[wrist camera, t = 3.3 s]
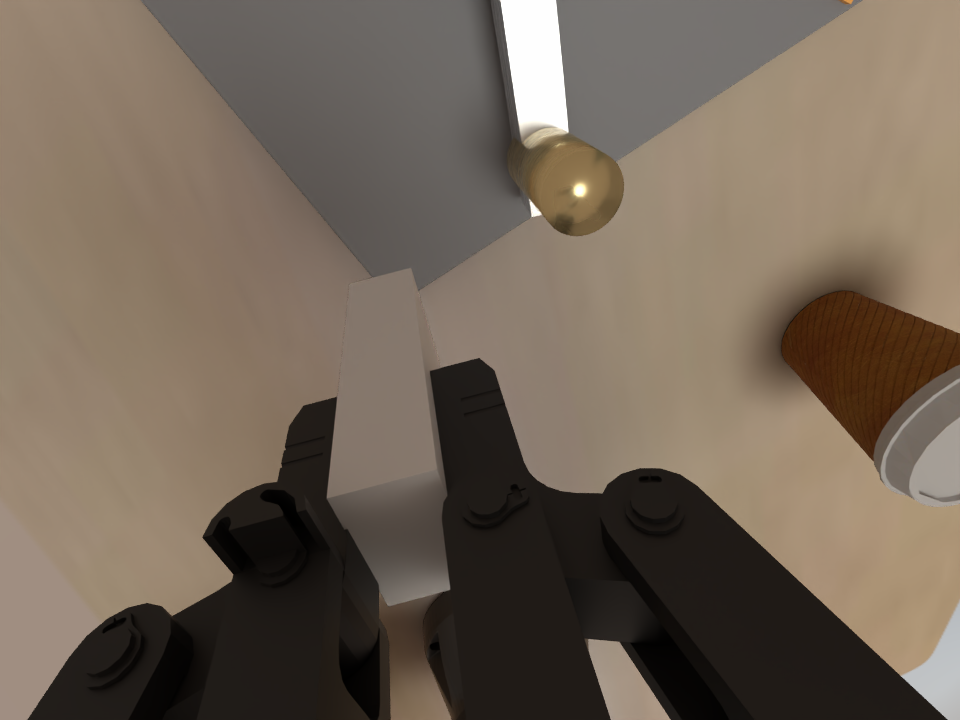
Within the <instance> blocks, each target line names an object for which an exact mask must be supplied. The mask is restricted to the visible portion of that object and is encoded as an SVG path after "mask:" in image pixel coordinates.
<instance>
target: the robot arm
mask: <svg viewBox="0 0 960 720" xmlns="http://www.w3.org/2000/svg"><path fill="white" fill-rule="evenodd" d="M285 448H286V450H285V451H284V453H283V458H282V463H281V464H282V468H280V472H279V477H278V481H277V482H274V483H266V484H262V485H259V486H257V487H254V488H252V489H250V490H247V491H245V492H243V493H242V494H240V495H239V496H237V497H236V498H234V499H233V500H232V501H230V502H229V503H227V504H226V505H225V506H224V507H223V508H222V509H221V510H220V511H219V513H218V514H217V515H216V516H215V517H214V518H213V519H212V520H211V522H210V524H209V526H208V528H207V529H206V531H205V533H204V535H203V537H202V538H203V539H204V540H205V541H206V542H207V544H208V545H209V546H210V547H211V548H212V550H213V551H214V552H215V553H216V554H217V555H218V557H219V558H220V559H221V560H222V561H223V563H224V564H225V565H226V566H227V567H228V569H229V570H230V571H231V572H232V573H233V574H234V575H233V579H232V582H230V583H229V584H227V585H226V586H224V587H223V588H221V589H220V590H218V591H217V592H215V593H213V594H211V595H209V596H208V597H206V598H204V599H202V600H200V601H199V602H197V603H195V604H193V605H191V606H190V607H188V608H186V609H184V610H182V611H181V612H179V613H177V614H175V615H173V616H171V615H170V614H169V613H168V612H167V611H166V610H165V609H164V608H163V607H162V606H158V605H153V604H149V603H146V604H141V605H137V606H133V607H129V608H126V609H125V610H123V611H121V612H119V613H117V614H115V615H114V616H112V617H110V618H108V619H107V620H105V621H104V622H103V623H102V624H101V625H99V626H98V627H97V628H96V629H95V630H93V631H92V632H91V633H90V634H89V635H87V636H86V638H85V639H84V640H83V641H82V642H81V644H80V645H79V646H78V648H77V649H76V650H75V651H74V652H73V653H72V655H71V656H70V657H69V658H68V660H67V661H66V663H65V665H64V666H63V668H62V669H61V670H60V672H59V673H58V675H57V676H56V678H55V679H54V681H53V683H52V684H51V685H50V687H49V688H48V690H47V691H46V693H45V694H44V696H43V697H42V699H41V700H40V702H39V703H38V705H37V707H36V708H35V710H34V711H33V712H32V714H31V715H30V717H29V718H28V720H391V717H390V667H389V641H388V637H387V632H386V629H385V627H384V625H383V624H382V622H381V621H380V619H379V591H380V593H381V595H382V596H383V598H384V600H385V602H386V603H387V605H388V607H389V606H393V605H396V604H400V603H404V602H408V601H411V600H415V599H419V598H422V597H426V596H430V595H433V594H437V593H441V592H444V591H446V592H445V593H443V594H442V595H441V596H440V597H439V598H438V599H437V600H436V601H435V602H434V603H433V604H432V605H431V607H430V608H429V610H428V611H427V613H426V616H425V618H424V622H423V634H424V647H425V653H426V658H427V660H428V663H429V665H430V668H431V670H432V672H433V675H434V677H435V680H436V682H437V685H438V687H439V689H440V692H441V694H442V697H443V699H444V702H445V704H446V706H447V709H448V711H449V714H450V716H451V719H452V720H611V719H610V716H609V713H608V710H607V707H606V704H605V700H604V697H603V694H602V691H601V688H600V685H599V682H598V679H597V676H596V673H595V670H594V667H593V664H592V661H591V658H590V654H589V651H588V639H596V640H607V641H618V642H620V643H621V645H622V646H623V648H624V649H625V651H626V652H627V654H628V655H629V657H630V658H631V660H632V661H633V663H634V664H635V666H636V668H637V669H638V671H639V672H640V674H641V675H642V677H643V678H644V680H645V681H646V683H647V684H648V686H649V687H650V689H651V690H652V692H653V693H654V695H655V696H656V698H657V699H658V701H659V702H660V704H661V705H662V707H663V709H664V710H665V712H666V713H667V715H668V716H669V718H670V719H671V720H947V719H946V718H945V717H944V716H943V715H942V714H941V713H940V712H939V711H938V710H936V709H935V708H934V707H933V706H932V705H931V704H930V703H929V702H928V701H927V700H926V699H924V697H923V696H922V695H920V694H919V693H918V692H917V691H916V690H915V689H914V688H913V687H912V686H911V685H910V684H909V683H908V682H906V681H905V680H904V679H903V678H902V677H901V676H900V675H899V674H898V673H897V672H896V671H895V670H894V669H893V668H892V667H890V666H889V665H888V664H887V663H886V662H885V661H884V660H883V659H882V658H881V657H880V656H879V655H878V654H877V653H875V652H874V651H873V650H872V649H871V648H870V647H869V646H868V645H867V644H866V643H865V642H864V641H863V640H862V639H861V638H859V637H858V636H857V635H856V634H855V633H854V632H853V631H852V630H851V629H850V628H849V627H848V626H847V625H846V624H844V623H843V622H842V621H841V620H840V619H839V618H838V617H837V616H836V615H835V614H834V613H833V612H832V611H831V610H829V609H828V608H827V607H826V606H825V605H824V604H823V603H822V602H821V601H820V600H819V599H818V598H817V597H816V596H814V595H813V594H812V593H811V592H810V591H809V590H808V589H807V588H806V587H805V586H804V585H803V584H802V583H801V582H799V581H798V580H797V579H796V578H795V577H794V576H793V575H792V574H791V573H790V572H789V571H788V570H787V569H786V568H785V567H783V566H782V565H781V564H780V563H779V562H778V561H777V560H776V559H775V558H774V557H773V556H772V555H771V554H770V553H768V552H767V551H766V550H765V549H764V548H763V547H762V546H761V545H760V544H759V543H758V542H757V541H756V540H755V539H753V538H752V537H751V536H750V535H749V534H748V533H747V532H746V531H745V530H744V529H743V528H742V527H741V526H740V525H738V524H737V523H736V522H735V521H734V520H733V519H732V518H731V517H730V516H729V515H728V514H727V513H726V512H725V511H723V510H722V509H721V508H720V507H719V506H718V505H717V504H716V503H715V502H714V501H713V500H712V499H711V498H710V497H709V496H707V495H706V494H705V493H704V492H703V491H702V490H701V489H700V488H699V487H698V486H697V485H695V484H694V483H692V482H691V481H689V480H688V479H686V478H685V477H683V476H682V475H680V474H677V473H673V472H670V471H667V470H663V469H656V468H639V469H636V470H633V471H629V472H626V473H623V474H621V475H619V476H618V477H617V478H615V479H614V480H613V481H612V482H610V483H609V484H608V485H607V487H606V488H605V490H604V492H603V494H599V493H571V492H562V491H559V490H556V489H553V488H550V487H547V486H546V485H544V484H542V483H541V482H539V481H537V480H536V479H535V478H534V477H533V476H532V475H531V474H530V473H529V471H528V469H527V467H526V465H525V463H524V461H523V458H522V455H521V451H520V448H519V445H518V442H517V439H516V436H515V433H514V430H513V427H512V424H511V421H510V418H509V414H508V411H507V408H506V406H505V402H504V399H503V396H502V393H501V390H500V387H499V384H498V380H497V377H496V374H495V371H494V370H493V369H492V368H491V367H489V366H488V365H487V364H486V363H485V362H483V361H482V360H481V359H480V358H477V359H474V360H470V361H466V362H462V363H458V364H454V365H451V366H447V367H443V368H440V363H439V358H438V355H437V352H436V348H435V345H434V342H433V338H432V335H431V332H430V329H429V325H428V322H427V319H426V315H425V312H424V309H423V305H422V302H421V299H420V296H419V292H418V289H417V286H416V282H415V279H414V276H413V273H412V269H411V268H408V269H404V270H400V271H396V272H393V273H389V274H385V275H381V276H377V277H373V278H369V279H365V280H361V281H358V282H354V283H350V284H349V291H348V301H347V310H346V320H345V329H344V339H343V348H342V358H341V367H340V377H339V386H338V396H337V397H335V398H331V399H328V400H324V401H320V402H316V403H312V404H308V405H305V406H303V407H302V409H301V410H300V412H299V413H298V414H297V416H296V417H295V419H294V420H293V422H292V423H291V424H290V426H289V430H288V434H287V439H286V444H285Z"/></svg>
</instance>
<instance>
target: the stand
mask: <svg viewBox="0 0 960 720" xmlns="http://www.w3.org/2000/svg"><path fill="white" fill-rule="evenodd" d="M141 1H142V2H143V3H144V5H145V6H146V7H147V8H148V9H149V11H150V12H151V13H152V14H153V15H154V17H155V18H156V19H157V20H158V21H159V23H160V24H161V25H162V26H163V27H164V29H165V30H166V31H167V32H168V33H169V35H170V36H171V37H172V38H173V39H174V40H175V42H176V43H177V44H178V45H179V46H180V48H181V49H182V50H183V51H184V52H185V54H186V55H187V56H188V57H189V58H190V60H191V61H192V62H193V63H194V64H195V66H196V67H197V68H198V69H199V70H200V72H201V73H202V74H203V75H204V76H205V78H206V79H207V80H208V81H209V82H210V84H211V85H212V86H213V87H214V88H215V90H216V91H217V92H218V93H219V94H220V96H221V97H222V98H223V99H224V100H225V101H226V103H227V104H228V105H229V106H230V107H231V109H232V110H233V111H234V112H235V113H236V115H237V116H238V117H239V118H240V119H241V121H242V122H243V123H244V124H245V125H246V127H247V128H248V129H249V130H250V131H251V133H252V134H253V135H254V136H255V137H256V139H257V140H258V141H259V142H260V143H261V145H262V146H263V147H264V148H265V149H266V151H267V152H268V153H269V154H270V155H271V156H272V158H273V159H274V160H275V161H276V162H277V164H278V165H279V166H280V167H281V168H282V170H283V171H284V172H285V173H286V174H287V176H288V177H289V178H290V179H291V180H292V182H293V183H294V184H295V185H296V186H297V188H298V189H299V190H300V191H301V192H302V194H303V195H304V196H305V197H306V198H307V200H308V201H309V202H310V203H311V204H312V206H313V207H314V208H315V209H316V210H317V211H318V213H319V214H320V215H321V216H322V217H323V219H324V220H325V221H326V222H327V223H328V225H329V226H330V227H331V228H332V229H333V231H334V232H335V233H336V234H337V235H338V237H339V238H340V239H341V240H342V241H343V243H344V244H345V245H346V246H347V247H348V249H349V250H350V251H351V252H352V253H353V255H354V256H355V257H356V258H357V259H358V261H359V262H360V263H361V264H362V265H363V266H364V268H365V269H366V270H367V271H368V272H369V274H370V275H371V276H372V277H377V276H381V275H385V274H389V273H393V272H396V271H400V270H404V269H408V268H411V269H412V273H413V276H414V279H415V282H416V286H417V289H418V291H419V290H420V289H422V288H423V287H425V286H427V285H428V284H430V283H431V282H433V281H434V280H436V279H437V278H439V277H440V276H442V275H443V274H445V273H446V272H448V271H449V270H451V269H453V268H454V267H456V266H457V265H459V264H460V263H462V262H463V261H465V260H466V259H468V258H469V257H471V256H472V255H474V254H475V253H477V252H478V251H480V250H482V249H483V248H485V247H486V246H488V245H489V244H491V243H492V242H494V241H495V240H497V239H498V238H500V237H501V236H503V235H504V234H506V233H508V232H509V231H511V230H512V229H514V228H515V227H517V226H518V225H520V224H521V223H523V222H524V221H526V220H527V219H529V218H530V217H531V214H530V213H529V211H528V210H527V209H526V207H525V206H524V205H523V204H522V199H521V193H520V188H519V187H518V185H517V184H516V183H515V182H514V180H513V179H512V178H511V176H510V174H509V171H508V167H507V152H508V148H509V146H510V143H511V141H512V135H511V129H510V122H509V116H508V109H507V103H506V97H505V90H504V84H503V77H502V71H501V65H500V58H499V52H498V45H497V39H496V32H495V26H494V20H493V13H492V7H491V0H141ZM861 1H862V0H556V7H557V18H558V28H559V38H560V49H561V59H562V70H563V80H564V90H565V101H566V111H567V122H568V132H569V133H571V134H573V135H574V136H576V137H578V138H580V139H581V140H583V141H585V142H586V143H588V144H590V145H591V146H593V147H595V148H597V149H598V150H600V151H602V152H603V153H605V154H607V155H608V156H610V157H611V158H612V159H613V160H614V161H615V162H616V161H618V160H619V159H621V158H622V157H624V156H625V155H627V154H628V153H630V152H631V151H633V150H634V149H636V148H638V147H639V146H641V145H642V144H644V143H645V142H647V141H648V140H650V139H651V138H653V137H654V136H656V135H657V134H659V133H660V132H662V131H663V130H665V129H667V128H668V127H670V126H671V125H673V124H674V123H676V122H677V121H679V120H680V119H682V118H683V117H685V116H686V115H688V114H689V113H691V112H693V111H694V110H696V109H697V108H699V107H700V106H702V105H703V104H705V103H706V102H708V101H709V100H711V99H712V98H714V97H715V96H717V95H719V94H720V93H722V92H723V91H725V90H726V89H728V88H729V87H731V86H732V85H734V84H735V83H737V82H738V81H740V80H741V79H743V78H745V77H746V76H748V75H749V74H751V73H752V72H754V71H755V70H757V69H758V68H760V67H761V66H763V65H764V64H766V63H767V62H769V61H771V60H772V59H774V58H775V57H777V56H778V55H780V54H781V53H783V52H784V51H786V50H787V49H789V48H790V47H792V46H793V45H795V44H797V43H798V42H800V41H801V40H803V39H804V38H806V37H807V36H809V35H810V34H812V33H813V32H815V31H816V30H818V29H819V28H821V27H823V26H824V25H826V24H827V23H829V22H830V21H832V20H833V19H835V18H836V17H838V16H839V15H841V14H842V13H844V12H845V11H847V10H849V9H850V8H852V7H853V6H855V5H856V4H858V3H859V2H861Z"/></svg>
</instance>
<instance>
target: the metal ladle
mask: <svg viewBox="0 0 960 720" xmlns="http://www.w3.org/2000/svg"><path fill="white" fill-rule="evenodd" d="M491 7H492V13H493V20H494V26H495V32H496V39H497V45H498V52H499V58H500V65H501V71H502V77H503V84H504V90H505V97H506V103H507V109H508V116H509V122H510V129H511V135H512V141H511V143H510V146H509V148H508V152H507V167H508V171H509V174H510V176H511V178H512V179H513V180H514V182H515V183H516V184H517V185H518V187H519V188H520V193H521V199H522V204H523V205H524V206H525V207H526V209H527V210H528V211H529V213H530V214H531V217H535V216H539V215H543V216H544V217H545V219H546V220H547V221H548V222H549V223H550V224H551V225H552V226H553V227H554V228H555V229H556V230H557V231H559V232H561V233H563V234H566V235H570V236H583V235H587V234H590V233H593V232H595V231H597V230H599V229H600V228H602V227H603V226H604V225H606V224H607V223H608V222H609V221H610V220H611V219H612V217H613V216H614V215H615V213H616V212H617V210H618V208H619V206H620V204H621V201H622V197H623V192H624V181H623V176H622V172H621V170H620V168H619V166H618V164H617V163H616V162H615V161H614V160H613V159H612V158H611V157H610V156H608V155H607V154H605V153H603V152H602V151H600V150H598V149H597V148H595V147H593V146H591V145H590V144H588V143H586V142H585V141H583V140H581V139H580V138H578V137H576V136H574V135H573V134H571V133H569V132H568V122H567V111H566V101H565V90H564V80H563V70H562V59H561V49H560V38H559V28H558V18H557V7H556V0H491Z"/></svg>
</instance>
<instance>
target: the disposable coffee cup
mask: <svg viewBox="0 0 960 720" xmlns="http://www.w3.org/2000/svg"><path fill="white" fill-rule="evenodd" d="M782 355H783V358H784V360H785V361H786V362H787V363H788V364H789V365H790V367H791V368H792V369H793V370H794V371H795V372H796V373H797V374H798V376H799V377H800V378H801V379H802V380H803V381H804V382H805V384H806V385H807V386H808V387H809V388H810V389H811V391H812V392H813V393H814V394H815V395H816V396H817V398H818V399H819V400H820V401H821V402H822V403H823V405H824V406H825V407H826V408H827V409H828V410H829V412H830V413H831V414H832V415H833V416H834V417H835V418H836V419H837V421H838V422H839V423H840V424H841V425H842V426H843V427H844V428H845V430H846V431H847V432H848V433H849V434H850V435H851V436H852V438H853V439H854V440H855V441H856V442H857V443H858V444H859V446H860V447H861V448H862V449H863V450H864V451H865V452H866V454H867V455H868V456H869V457H870V458H871V459H872V460H873V461H874V465H875V467H876V469H877V471H878V472H879V475H880V480H881V481H882V482H883V483H884V484H885V486H886V487H888V488H889V489H890V490H891V491H893V492H895V493H898V494H901V495H907V496H909V497H911V498H913V499H914V500H916V501H918V502H919V503H921V504H923V505H927V506H932V507H945V506H952V505H957V504H960V333H957V332H954V331H952V330H950V329H947V328H944V327H943V326H939V325H936V324H933V323H932V322H929V321H926V320H923V319H922V318H919V317H916V316H913V315H912V314H909V313H905V312H903V311H901V310H898V309H895V308H893V307H890V306H888V305H885V304H883V303H880V302H877V301H875V300H873V299H870V298H868V297H865V296H862V295H860V294H858V293H855V292H852V291H839V292H834V293H831V294H828V295H825V296H823V297H821V298H819V299H817V300H815V301H814V302H812V303H811V304H809V305H808V306H807V307H806V308H804V309H803V310H802V311H801V312H800V313H799V314H798V315H797V316H796V317H795V318H794V320H793V321H792V322H791V324H790V325H789V327H788V329H787V331H786V332H785V335H784V337H783V340H782Z"/></svg>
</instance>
